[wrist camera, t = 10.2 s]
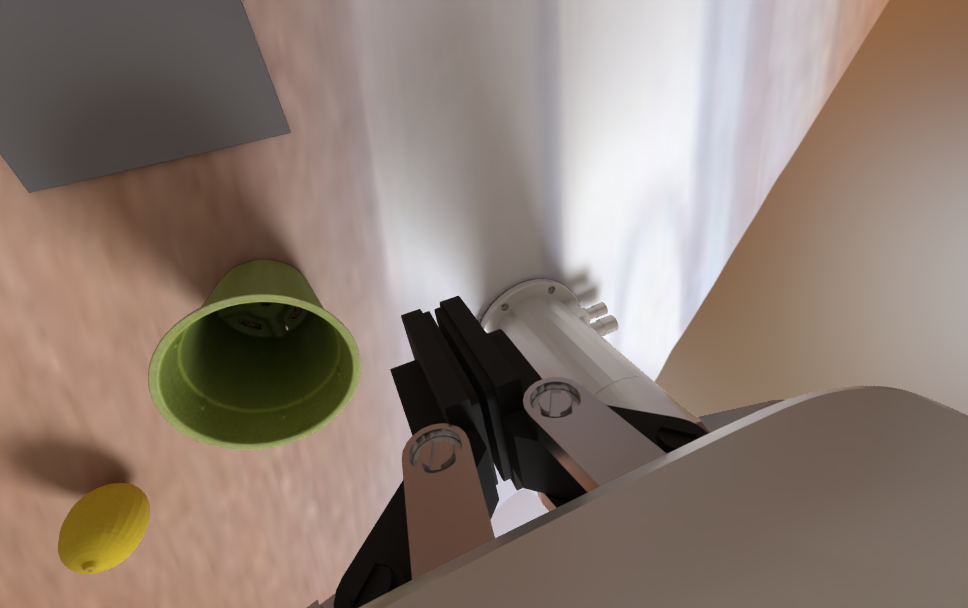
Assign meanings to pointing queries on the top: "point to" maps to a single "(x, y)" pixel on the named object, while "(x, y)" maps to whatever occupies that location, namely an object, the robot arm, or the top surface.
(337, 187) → the top surface
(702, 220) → the top surface
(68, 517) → the lemon
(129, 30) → the rubber mat
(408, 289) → the top surface
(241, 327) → the plant pot
